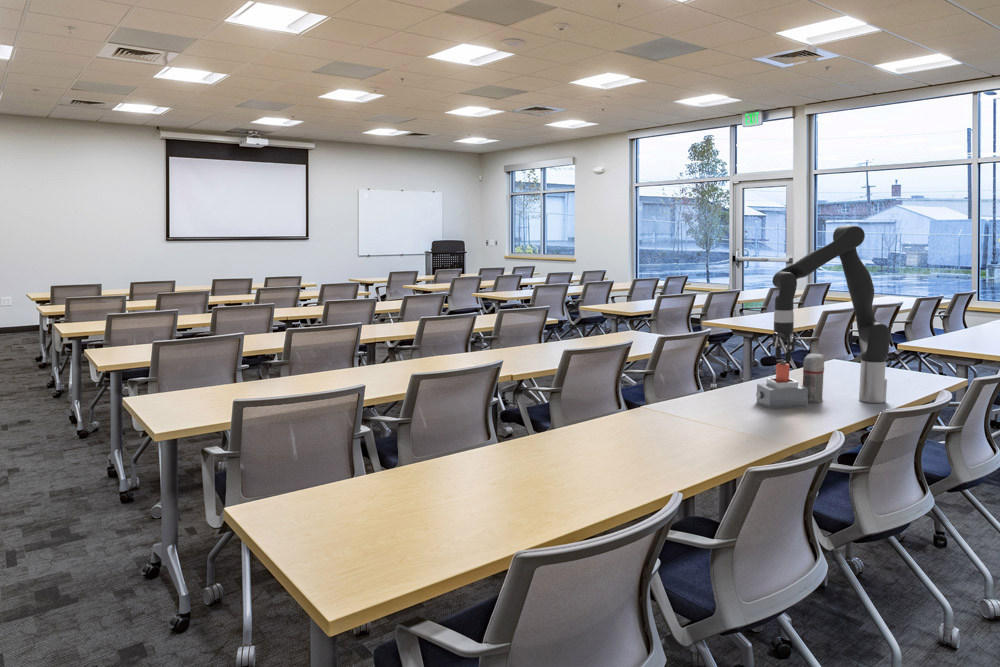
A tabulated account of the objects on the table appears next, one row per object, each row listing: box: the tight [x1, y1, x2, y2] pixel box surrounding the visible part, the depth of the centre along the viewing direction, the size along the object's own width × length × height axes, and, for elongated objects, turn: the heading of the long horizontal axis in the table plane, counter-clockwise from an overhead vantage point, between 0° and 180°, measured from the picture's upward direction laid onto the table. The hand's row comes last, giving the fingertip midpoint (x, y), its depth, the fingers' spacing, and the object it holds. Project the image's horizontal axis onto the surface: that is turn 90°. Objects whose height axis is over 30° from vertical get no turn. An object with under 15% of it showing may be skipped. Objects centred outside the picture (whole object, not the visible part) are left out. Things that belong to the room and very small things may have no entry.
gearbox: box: [755, 377, 808, 410], centre depth 296 cm, size 17×12×10 cm
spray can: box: [802, 352, 826, 403], centre depth 301 cm, size 8×8×20 cm
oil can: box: [775, 359, 790, 382], centre depth 294 cm, size 5×5×11 cm
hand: (782, 359), depth 294 cm, fingers open, 8 cm apart
